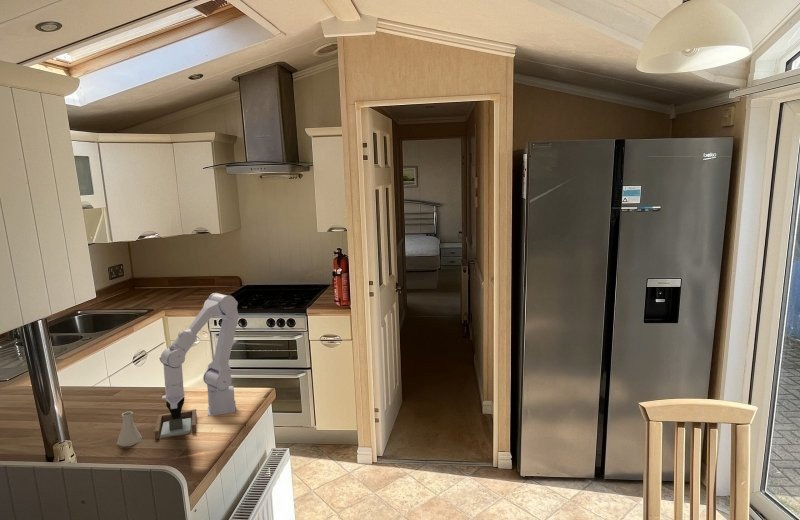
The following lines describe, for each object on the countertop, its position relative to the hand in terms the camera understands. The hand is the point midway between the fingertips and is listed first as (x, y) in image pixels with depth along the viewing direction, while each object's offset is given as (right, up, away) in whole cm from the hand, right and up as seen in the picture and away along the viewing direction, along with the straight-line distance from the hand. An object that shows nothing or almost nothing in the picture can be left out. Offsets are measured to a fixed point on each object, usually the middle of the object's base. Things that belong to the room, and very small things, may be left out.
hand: (176, 420), depth 172 cm
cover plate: (+1, -2, -2) cm, 3 cm away
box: (+1, -3, -2) cm, 3 cm away
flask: (-11, -4, -10) cm, 15 cm away
